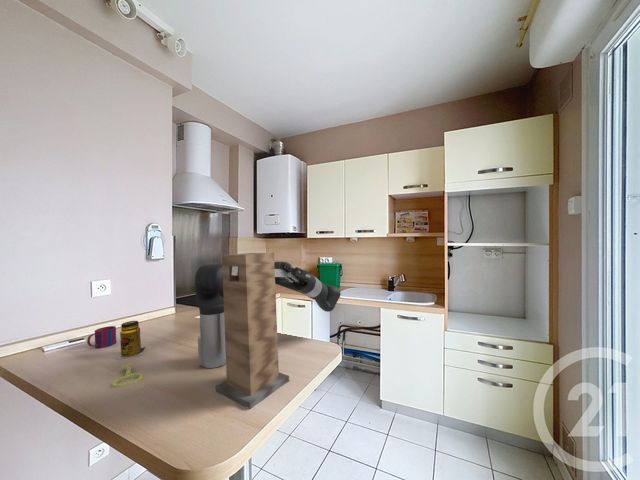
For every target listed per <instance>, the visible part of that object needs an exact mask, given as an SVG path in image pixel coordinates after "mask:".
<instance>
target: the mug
mask: <svg viewBox="0 0 640 480" xmlns="http://www.w3.org/2000/svg"><path fill="white" fill-rule="evenodd" d="M93 336H94V344H91V338H92V337H93ZM86 341H87V345H88V346H89V347H92V348H95V349H103V348H109V347H112V346H115V345H116V344H117V328H116V326H115V325H112V326H111V325H110V326H108V325H107V326H103V327H99V328H97V329H96V330H94V333H92V334H90V335H89V336H88V337H87V340H86Z"/></svg>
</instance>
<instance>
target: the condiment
mask: <svg viewBox="0 0 640 480" xmlns="http://www.w3.org/2000/svg"><path fill="white" fill-rule="evenodd" d="M120 327H121V328H120V329H121V330H120V332H119V337H120V355H119V356H118V357H117V360H121V359H128V358H134V357H137V356H141V355H142V354H143V353H144V351H145V350H146V348H147V346H143V347H142V344H141V341H142V340H141V327H140V323H139V321H138V320H130V321H125V322H123V323H121V324H120Z"/></svg>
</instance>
